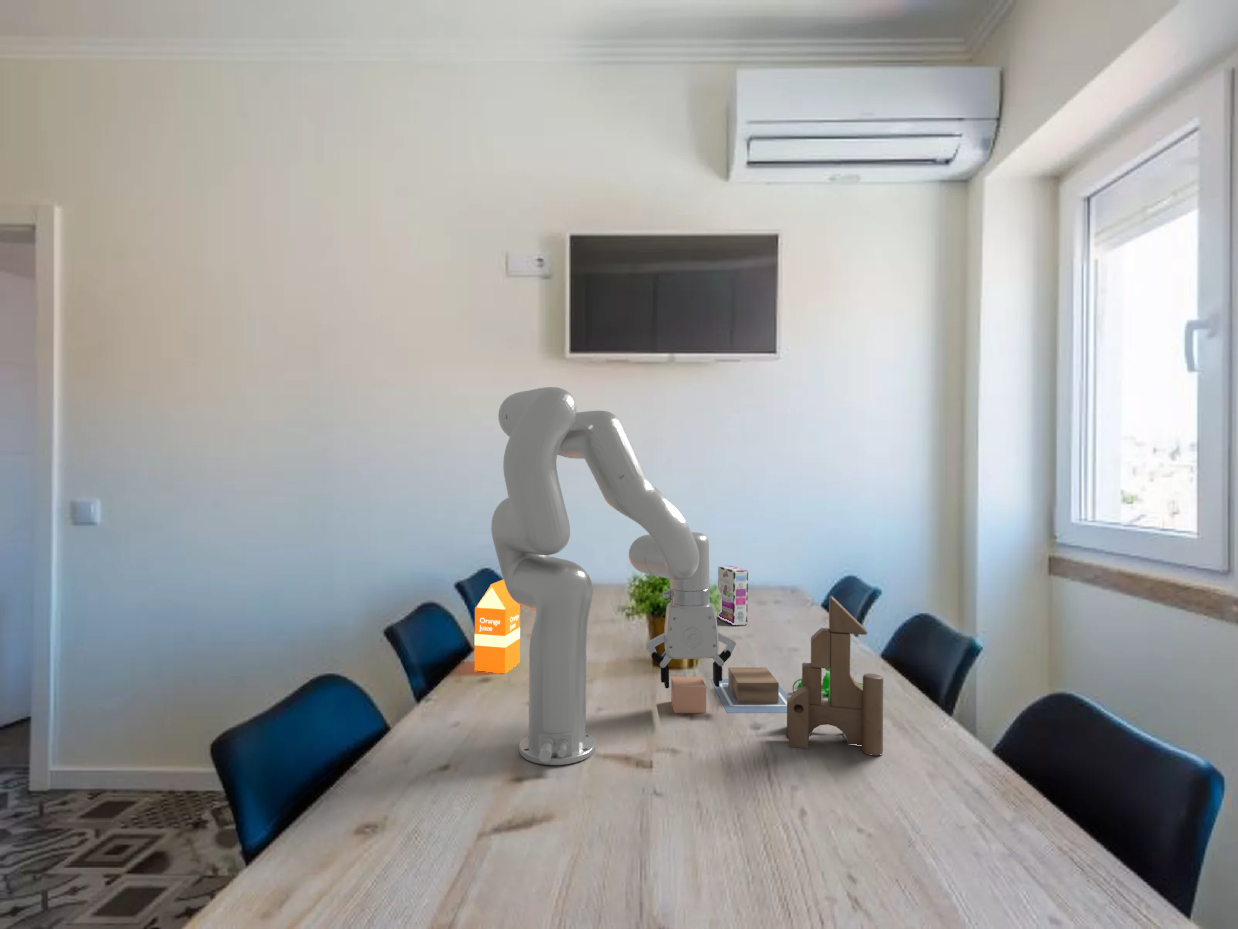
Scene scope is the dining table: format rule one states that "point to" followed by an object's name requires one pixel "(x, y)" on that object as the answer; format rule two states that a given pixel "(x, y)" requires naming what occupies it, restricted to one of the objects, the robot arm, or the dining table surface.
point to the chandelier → (825, 683)
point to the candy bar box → (733, 593)
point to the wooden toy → (837, 689)
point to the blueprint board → (736, 707)
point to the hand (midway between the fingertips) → (691, 685)
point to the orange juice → (497, 631)
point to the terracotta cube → (688, 695)
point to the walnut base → (753, 685)
